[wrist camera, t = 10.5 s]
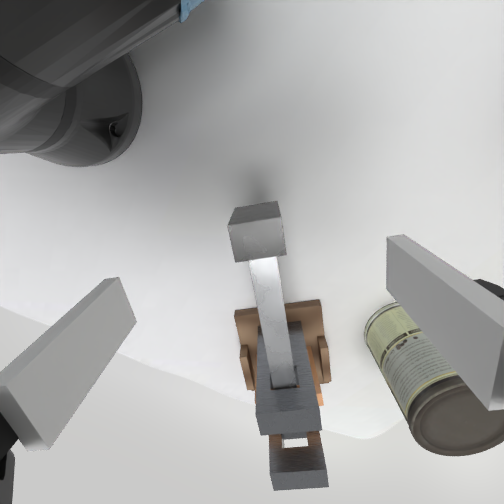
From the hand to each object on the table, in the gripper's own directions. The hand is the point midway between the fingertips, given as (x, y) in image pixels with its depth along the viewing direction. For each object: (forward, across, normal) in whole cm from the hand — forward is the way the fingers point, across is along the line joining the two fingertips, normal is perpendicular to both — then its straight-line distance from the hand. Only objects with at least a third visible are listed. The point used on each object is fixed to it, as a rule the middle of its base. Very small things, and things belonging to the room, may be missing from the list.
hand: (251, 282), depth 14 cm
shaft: (+13, 0, -9) cm, 16 cm away
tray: (+21, 0, -22) cm, 31 cm away
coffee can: (+22, +17, -22) cm, 36 cm away
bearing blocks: (+20, 0, -23) cm, 31 cm away
